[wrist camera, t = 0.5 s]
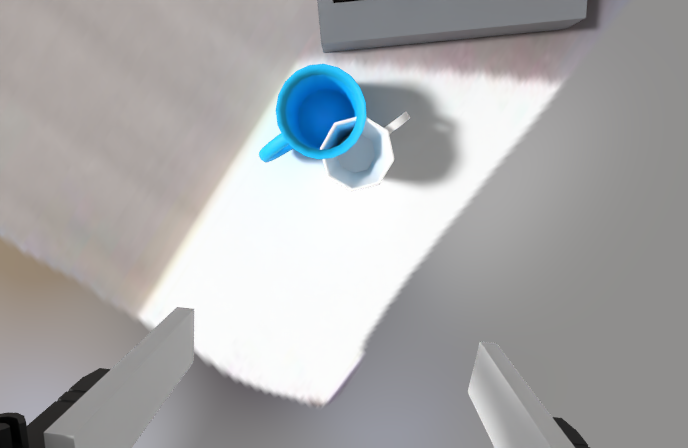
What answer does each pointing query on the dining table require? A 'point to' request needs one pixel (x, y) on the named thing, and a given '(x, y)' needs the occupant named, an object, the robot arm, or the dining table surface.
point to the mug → (316, 112)
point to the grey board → (437, 20)
